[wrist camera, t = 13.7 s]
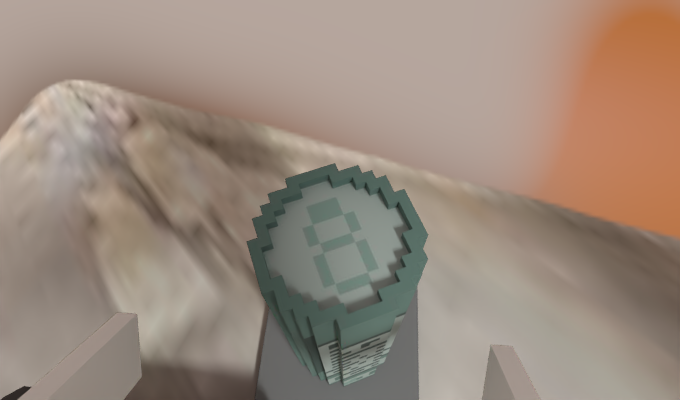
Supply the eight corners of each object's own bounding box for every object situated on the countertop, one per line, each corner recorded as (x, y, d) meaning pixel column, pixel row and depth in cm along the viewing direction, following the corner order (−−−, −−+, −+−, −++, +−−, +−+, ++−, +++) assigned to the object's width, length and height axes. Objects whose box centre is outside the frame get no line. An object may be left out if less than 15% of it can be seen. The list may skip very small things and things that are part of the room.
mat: (415, 269, 31) (416, 266, 30) (417, 425, 26) (419, 424, 26) (278, 259, 31) (277, 256, 31) (254, 411, 27) (252, 410, 26)
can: (367, 276, 30) (383, 148, 17) (403, 362, 27) (455, 286, 14) (284, 306, 29) (233, 195, 16) (312, 399, 26) (278, 354, 13)
